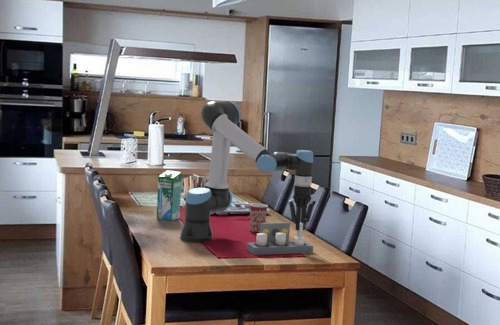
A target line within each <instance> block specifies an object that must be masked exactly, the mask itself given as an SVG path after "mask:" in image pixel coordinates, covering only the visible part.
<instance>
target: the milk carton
mask: <svg viewBox="0 0 500 325" xmlns="http://www.w3.org/2000/svg"><path fill="white" fill-rule="evenodd" d="M182 173H183V172H182V171H176V170H170V169H169V170H168V169H166V170H165V171H164V172H162V173H160V175H158V178H157V197H156V198H157V201H156V205H157V206H156V219H157V220H163V221H164V220H165V221H168V222H169V221H170V222H173V221H175V220H177V219H180V217H181V215H180V214H181V197H182V196H181V194H182V192H181V191H182V176H183V175H182Z"/></svg>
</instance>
